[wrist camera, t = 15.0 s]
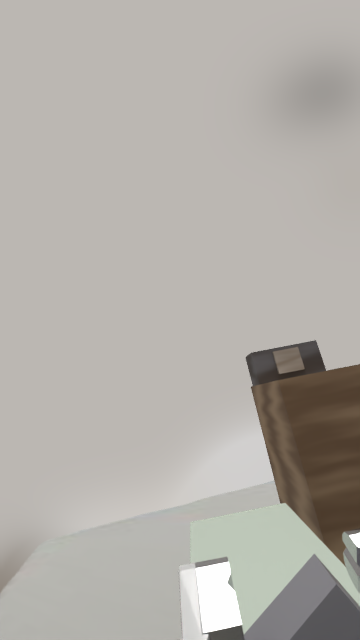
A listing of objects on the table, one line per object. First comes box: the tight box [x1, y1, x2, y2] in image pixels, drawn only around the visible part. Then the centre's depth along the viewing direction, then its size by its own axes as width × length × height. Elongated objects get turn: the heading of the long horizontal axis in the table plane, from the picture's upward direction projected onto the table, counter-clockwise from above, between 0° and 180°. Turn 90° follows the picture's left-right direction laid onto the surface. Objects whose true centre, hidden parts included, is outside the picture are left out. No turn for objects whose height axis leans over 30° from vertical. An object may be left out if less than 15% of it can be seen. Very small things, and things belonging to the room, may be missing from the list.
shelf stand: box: [246, 341, 360, 567], centre depth 29 cm, size 12×9×29 cm
